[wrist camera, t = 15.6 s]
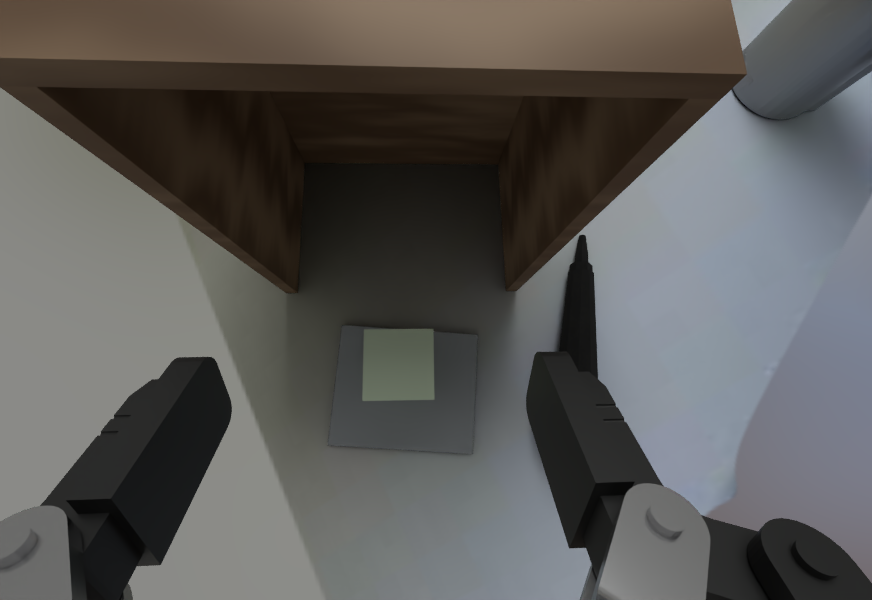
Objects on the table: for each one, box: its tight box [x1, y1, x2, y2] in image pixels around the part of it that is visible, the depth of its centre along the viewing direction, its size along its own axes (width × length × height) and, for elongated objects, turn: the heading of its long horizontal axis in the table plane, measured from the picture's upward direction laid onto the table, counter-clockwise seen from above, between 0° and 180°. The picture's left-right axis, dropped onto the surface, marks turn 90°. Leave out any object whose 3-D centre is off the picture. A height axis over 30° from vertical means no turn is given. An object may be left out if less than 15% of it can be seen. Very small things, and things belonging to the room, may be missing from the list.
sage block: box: [362, 329, 434, 401], centre depth 29 cm, size 4×4×9 cm
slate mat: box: [328, 325, 478, 454], centre depth 34 cm, size 12×10×1 cm
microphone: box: [559, 235, 598, 379], centre depth 34 cm, size 6×6×20 cm
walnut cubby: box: [0, 0, 747, 293], centre depth 25 cm, size 14×21×26 cm, turn 91°
